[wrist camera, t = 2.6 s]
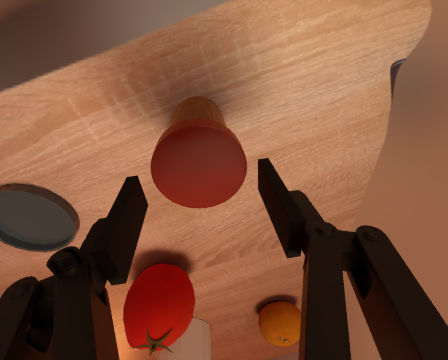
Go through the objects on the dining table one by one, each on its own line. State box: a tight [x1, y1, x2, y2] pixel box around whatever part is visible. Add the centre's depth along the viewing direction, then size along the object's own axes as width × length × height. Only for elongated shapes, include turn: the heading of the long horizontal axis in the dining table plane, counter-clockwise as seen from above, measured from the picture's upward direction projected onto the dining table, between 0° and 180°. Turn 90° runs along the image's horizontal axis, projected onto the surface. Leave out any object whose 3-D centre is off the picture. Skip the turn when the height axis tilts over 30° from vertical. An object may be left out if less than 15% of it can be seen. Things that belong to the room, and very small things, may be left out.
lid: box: [151, 118, 247, 208], centre depth 18 cm, size 8×8×2 cm
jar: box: [169, 97, 227, 128], centre depth 23 cm, size 6×6×12 cm
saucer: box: [0, 184, 80, 252], centre depth 32 cm, size 12×12×2 cm
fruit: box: [259, 301, 301, 346], centre depth 52 cm, size 10×10×8 cm
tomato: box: [123, 263, 195, 355], centre depth 37 cm, size 12×12×13 cm
